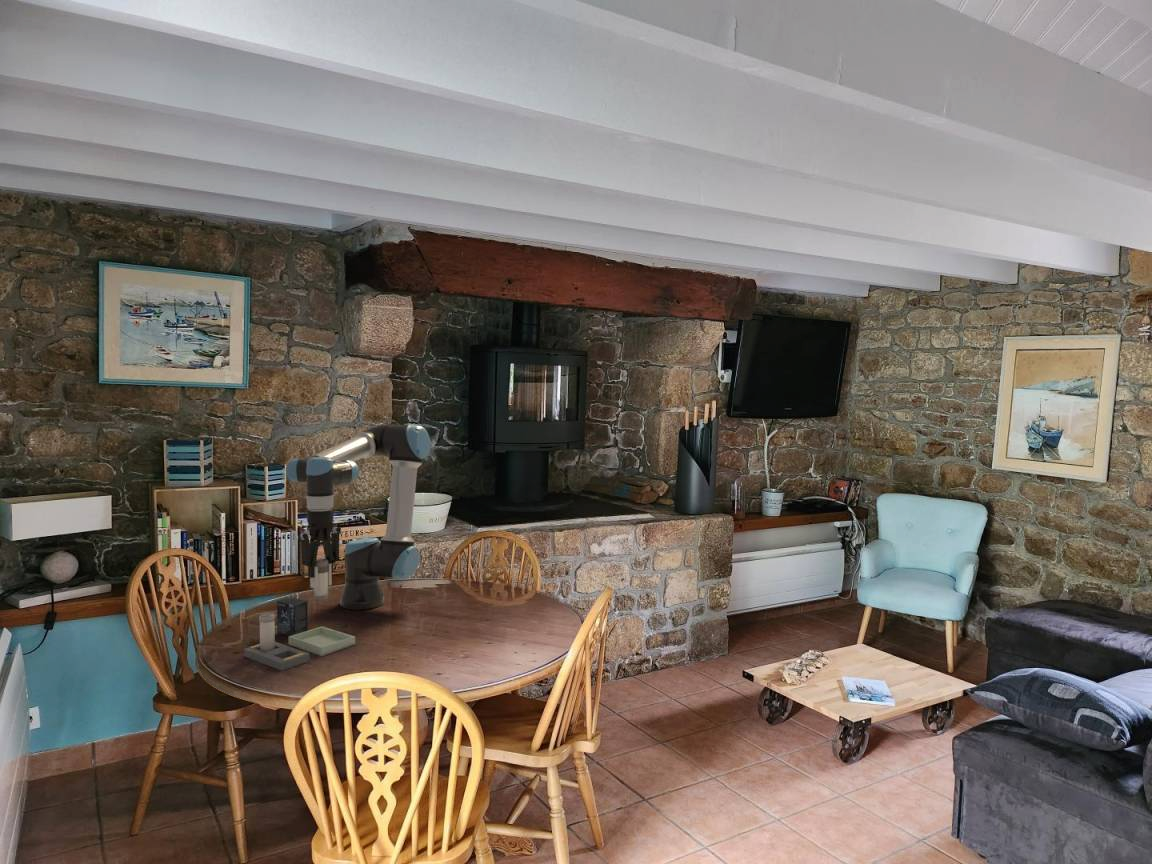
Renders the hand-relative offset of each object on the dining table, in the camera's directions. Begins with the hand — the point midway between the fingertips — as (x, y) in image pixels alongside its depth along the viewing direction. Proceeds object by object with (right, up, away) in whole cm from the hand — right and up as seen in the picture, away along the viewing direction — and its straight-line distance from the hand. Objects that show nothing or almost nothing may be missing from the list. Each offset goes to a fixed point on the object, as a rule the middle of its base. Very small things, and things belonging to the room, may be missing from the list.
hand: (320, 585), depth 233 cm
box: (-13, -17, +11) cm, 24 cm away
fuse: (-13, -19, -8) cm, 24 cm away
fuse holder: (-9, -19, -11) cm, 23 cm away
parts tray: (0, -18, +1) cm, 18 cm away
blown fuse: (0, -4, 0) cm, 4 cm away
